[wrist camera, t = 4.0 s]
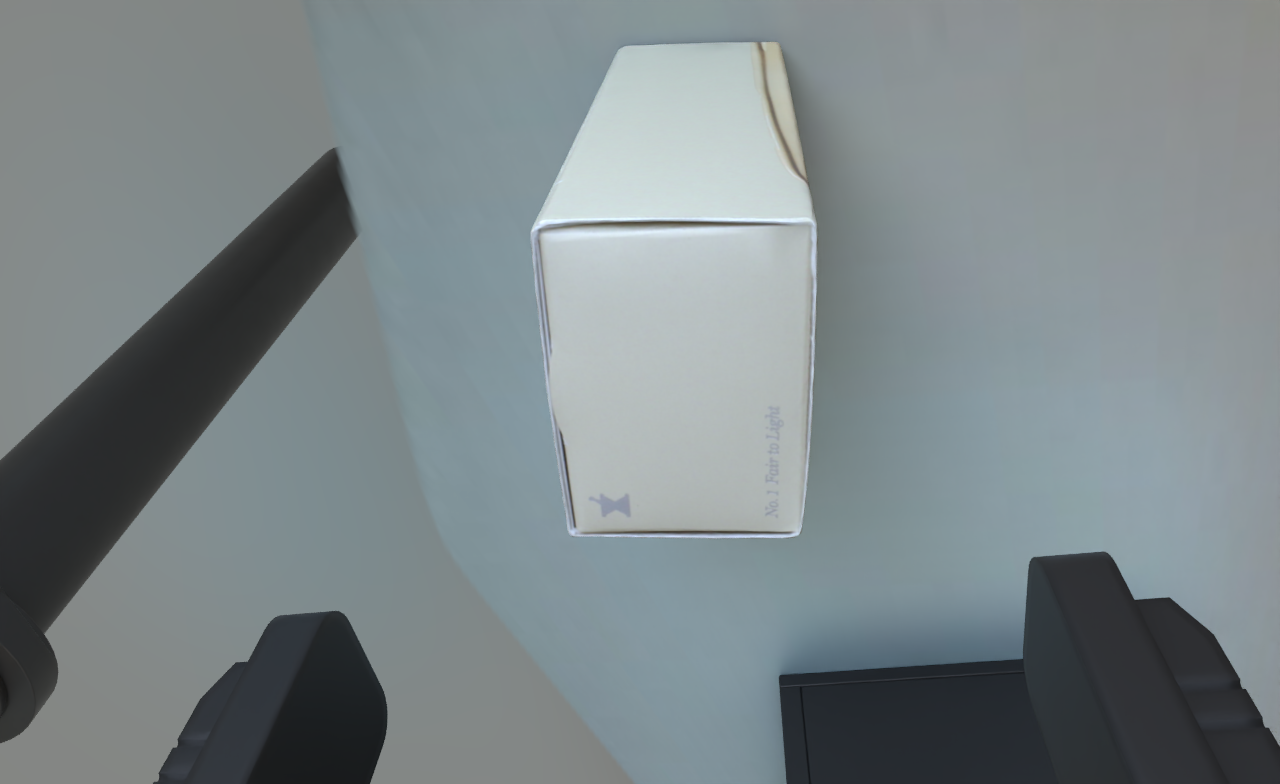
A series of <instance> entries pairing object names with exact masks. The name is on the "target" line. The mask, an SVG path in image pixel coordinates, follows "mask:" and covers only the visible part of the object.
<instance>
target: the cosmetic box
mask: <svg viewBox="0 0 1280 784" xmlns="http://www.w3.org/2000/svg"><path fill="white" fill-rule="evenodd" d="M817 244H818V228H817V222H816V217H815V212H814V207H813V202H812V196H811V192H810V188H809V183H808V177H807V172H806V167H805V162H804V157H803V152H802V147H801V142H800V137H799V132H798V127H797V122H796V116H795V111H794V106H793V101H792V96H791V91H790V86H789V81H788V76H787V72H786V68H785V63H784V58H783V54H782V50H781V46H780V44H779V43H777V42H718V43H686V44H657V45H636V46H625V47H622V48H620V49H619V50H618V51H617V53H616V55H615V57H614V59H613V62H612V64H611V66H610V68H609V70H608V72H607V74H606V76H605V78H604V81H603V83H602V85H601V87H600V89H599V91H598V93H597V95H596V97H595V99H594V101H593V103H592V106H591V108H590V110H589V112H588V114H587V116H586V118H585V120H584V122H583V124H582V126H581V128H580V130H579V133H578V135H577V136H576V138H575V140H574V143H573V145H572V147H571V149H570V151H569V153H568V155H567V157H566V159H565V162H564V164H563V166H562V168H561V170H560V172H559V174H558V176H557V178H556V180H555V182H554V184H553V186H552V188H551V190H550V192H549V194H548V196H547V199H546V201H545V203H544V205H543V207H542V209H541V211H540V213H539V215H538V217H537V219H536V221H535V223H534V226H533V228H532V230H531V249H532V260H533V270H534V281H535V291H536V301H537V308H538V317H539V327H540V336H541V346H542V355H543V364H544V373H545V382H546V390H547V397H548V403H549V410H550V416H551V423H552V430H553V438H554V445H555V451H556V457H557V463H558V470H559V477H560V484H561V490H562V497H563V502H564V507H565V514H566V521H567V529H568V532H569V534H570V535H571V536H572V537H593V536H599V537H638V538H648V537H650V538H708V539H731V538H793V537H796V536H798V535H799V534H800V533H801V530H802V525H803V518H804V511H805V502H806V492H807V484H808V469H809V459H810V442H811V429H812V411H813V389H814V368H815V341H816V307H817V268H818V267H817Z"/></svg>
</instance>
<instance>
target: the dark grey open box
mask: <svg viewBox="0 0 1280 784" xmlns="http://www.w3.org/2000/svg"><path fill="white" fill-rule="evenodd" d="M779 686H780V699H781V712H782V726H783V739H784V752H785V766H786V779H787V784H1058V781H1057V778H1056V775H1055V772H1054V769H1053V766H1052V764H1051V761H1050V758H1049V755H1048V752H1047V749H1046V746H1045V743H1044V740H1043V737H1042V735H1041V732H1040V729H1039V726H1038V723H1037V720H1036V717H1035V714H1034V711H1033V708H1032V705H1031V701H1030V698H1029V693H1028V689H1027V684H1026V678H1025V671H1024V661H1023V659H1022V660H1006V661H991V662H976V663H961V664H946V665H931V666H916V667H900V668H885V669H870V670H855V671H840V672H825V673H809V674H794V675H780V676H779Z"/></svg>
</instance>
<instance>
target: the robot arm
mask: <svg viewBox="0 0 1280 784" xmlns="http://www.w3.org/2000/svg"><path fill="white" fill-rule="evenodd" d="M1023 661H1024V671H1025V678H1026V684H1027V689H1028V693H1029V698H1030V701H1031V705H1032V708H1033V711H1034V714H1035V717H1036V720H1037V723H1038V726H1039V729H1040V732H1041V735H1042V737H1043V740H1044V743H1045V746H1046V749H1047V752H1048V755H1049V758H1050V761H1051V764H1052V766H1053V769H1054V772H1055V775H1056V778H1057V781H1058V784H1280V746H1279V745H1278V743H1277V741H1276V740H1275V738H1274V736H1273V735H1272V733H1271V731H1270V729H1269V728H1265V726H1264V724H1263V720H1262V719H1263V718H1262V716H1261V714H1260V712H1259V711H1258V709H1257V707H1256V706H1255V704H1254V702H1253V701H1252V699H1251V697H1250V695H1249V694H1248V692H1247V690H1246V689H1242V687H1241V684H1240V678H1239V677H1238V675H1237V673H1236V672H1235V670H1234V668H1233V667H1232V665H1231V663H1230V661H1229V660H1228V658H1227V656H1226V655H1225V653H1224V651H1223V650H1222V648H1221V646H1220V644H1219V643H1218V641H1217V639H1216V638H1215V636H1214V634H1212V633H1211V632H1210V631H1209V630H1208V629H1207V628H1205V627H1204V626H1203V625H1202V624H1201V623H1199V622H1198V621H1197V620H1196V619H1195V618H1193V617H1192V616H1191V615H1190V614H1189V613H1187V612H1186V611H1185V610H1184V609H1183V608H1181V607H1180V606H1179V605H1178V604H1177V603H1175V602H1174V601H1173V600H1172V599H1171V598H1170V597H1169V598H1155V599H1141V600H1134V598H1133V596H1132V594H1131V592H1130V590H1129V588H1128V586H1127V584H1126V582H1125V580H1124V579H1123V577H1122V575H1121V573H1120V571H1119V569H1118V567H1117V565H1116V563H1115V562H1114V560H1113V559H1112V557H1111V556H1110V555H1109V554H1108V553H1106V552H1093V553H1080V554H1068V555H1055V556H1043V557H1033V558H1032V559H1031V561H1030V564H1029V570H1028V584H1027V599H1026V614H1025V629H1024V644H1023ZM7 701H8V699H7V690H6V687H5V684H4V682H3V680H2V678H1V676H0V718H1V717H2V715H3V714H4V712H5V710H6V707H7ZM386 730H387V704H386V698H385V695H384V691H383V689H382V687H381V685H380V683H379V681H378V679H377V677H376V675H375V673H374V671H373V669H372V667H371V664H370V663H369V661H368V659H367V657H366V655H365V652H364V650H363V648H362V646H361V644H360V642H359V640H358V638H357V636H356V634H355V632H354V630H353V628H352V626H351V624H350V622H349V620H348V619H347V617H346V616H345V615H344V614H343V613H341V612H339V611H330V612H318V613H305V614H293V615H281V616H278V617H275V618H274V619H273V620H272V621H271V622H270V623H269V624H268V626H267V627H266V629H265V630H264V632H263V635H262V636H261V638H260V640H259V642H258V644H257V646H256V647H255V649H254V651H253V653H252V655H251V657H250V659H249V661H248V662H238V663H235V664H234V665H233V666H232V667H231V668H230V669H229V670H228V671H227V672H226V673H225V674H224V675H223V676H222V678H220V679H219V680H218V681H217V682H216V683H215V684H214V686H213V687H212V688H211V689H210V690H209V691H208V692H207V693H206V694H205V695H204V696H203V697H202V698H201V699H200V701H199V703H198V704H197V706H196V708H195V709H194V711H193V713H192V715H191V717H190V719H189V720H188V722H187V724H186V725H185V727H184V729H183V731H182V733H181V735H180V736H179V738H178V746H177V748H173V749H172V750H171V752H170V754H169V756H168V758H167V760H166V761H165V763H164V765H163V767H162V768H161V770H160V772H159V781H158V782H154V783H153V784H370V782H371V779H372V776H373V773H374V770H375V767H376V764H377V761H378V759H379V756H380V753H381V750H382V747H383V743H384V740H385V736H386Z"/></svg>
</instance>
